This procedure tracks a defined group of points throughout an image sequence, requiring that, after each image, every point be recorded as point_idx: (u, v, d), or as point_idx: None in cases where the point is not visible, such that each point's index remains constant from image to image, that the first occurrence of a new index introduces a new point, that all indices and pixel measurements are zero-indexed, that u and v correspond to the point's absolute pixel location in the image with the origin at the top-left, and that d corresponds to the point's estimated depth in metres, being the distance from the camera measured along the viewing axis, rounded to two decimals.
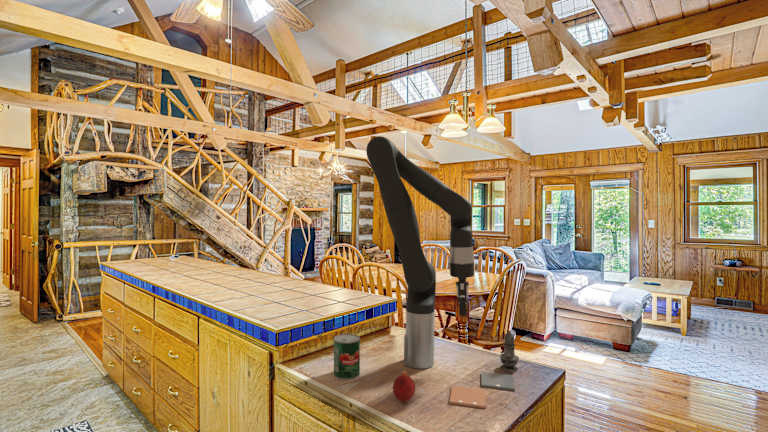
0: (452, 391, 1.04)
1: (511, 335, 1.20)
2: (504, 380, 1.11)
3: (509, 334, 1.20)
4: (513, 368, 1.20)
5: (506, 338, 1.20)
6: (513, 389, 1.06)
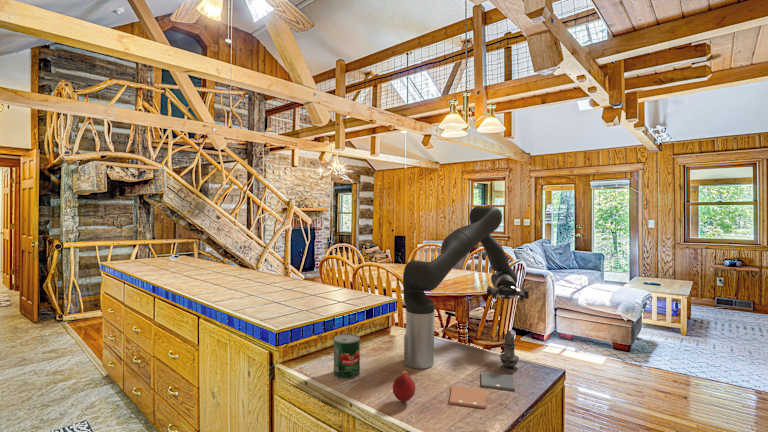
0: (452, 391, 1.04)
1: (511, 335, 1.20)
2: (504, 380, 1.11)
3: (509, 334, 1.20)
4: (513, 368, 1.20)
5: (506, 338, 1.20)
6: (513, 389, 1.06)
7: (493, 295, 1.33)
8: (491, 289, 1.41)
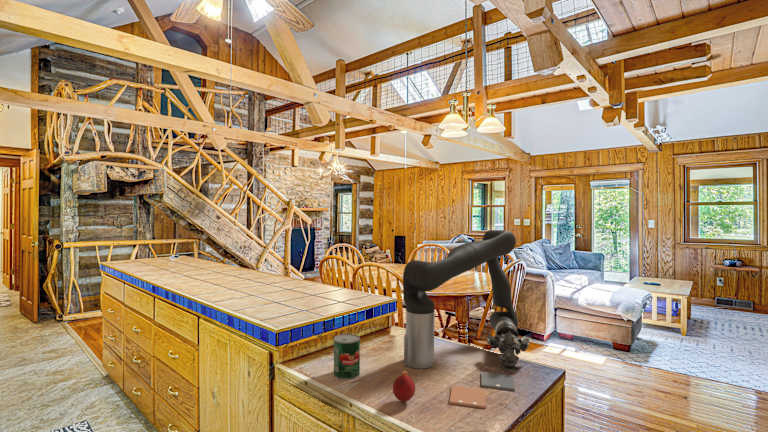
0: (452, 391, 1.04)
1: (511, 335, 1.20)
2: (504, 380, 1.11)
3: (509, 334, 1.20)
4: (513, 368, 1.20)
5: (506, 338, 1.20)
6: (513, 389, 1.06)
7: (500, 349, 1.19)
8: (493, 339, 1.27)
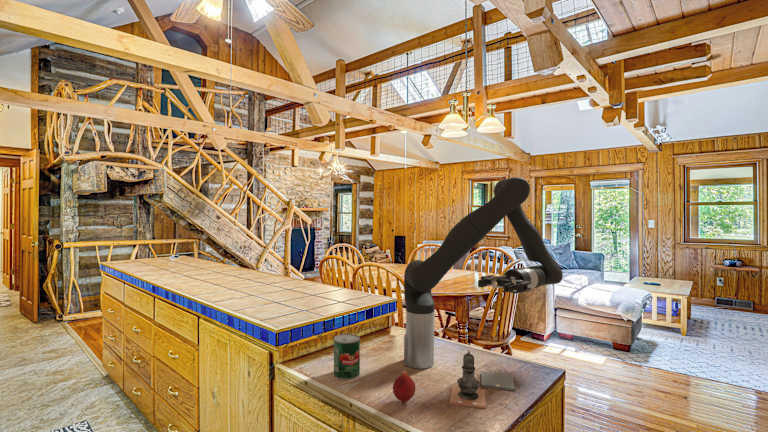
0: (452, 391, 1.04)
1: (468, 356, 1.01)
2: (504, 380, 1.11)
3: (467, 354, 1.01)
4: (469, 396, 1.00)
5: (463, 358, 1.02)
6: (513, 389, 1.06)
7: (478, 283, 1.15)
8: None
